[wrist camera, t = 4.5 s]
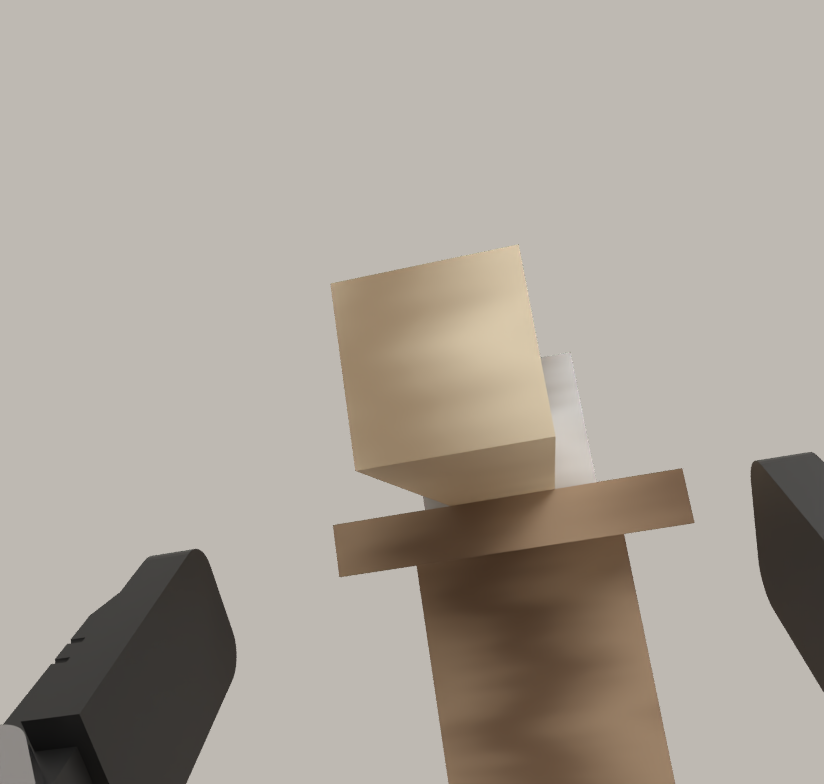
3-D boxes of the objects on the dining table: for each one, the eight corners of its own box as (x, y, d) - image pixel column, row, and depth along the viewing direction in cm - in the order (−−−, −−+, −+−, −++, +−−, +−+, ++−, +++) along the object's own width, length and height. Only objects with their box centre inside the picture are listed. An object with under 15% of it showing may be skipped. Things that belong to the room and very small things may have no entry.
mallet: (260, 487, 12) (229, 189, 13) (448, 524, 33) (431, 410, 34) (661, 418, 11) (591, 105, 12) (590, 501, 32) (567, 385, 33)
